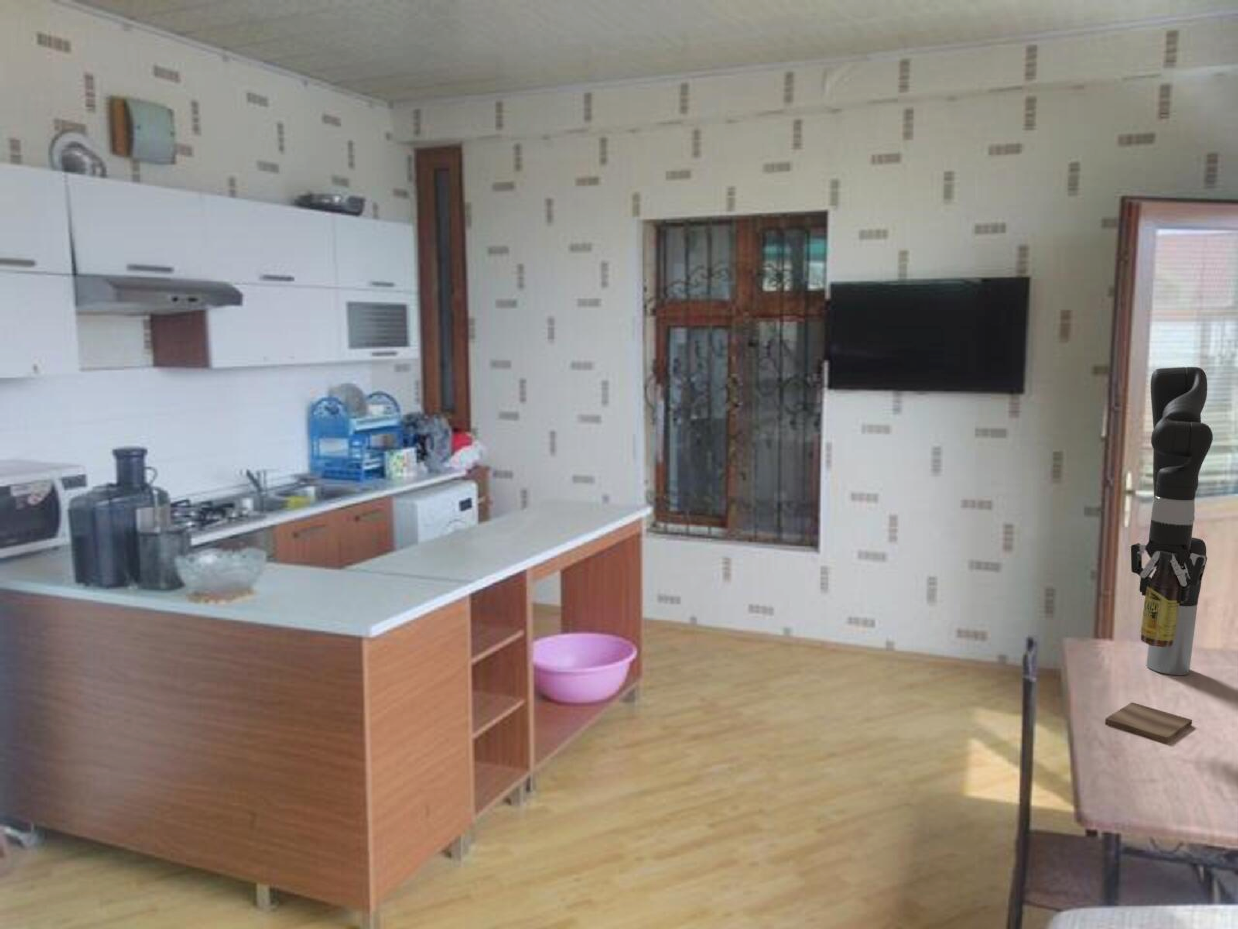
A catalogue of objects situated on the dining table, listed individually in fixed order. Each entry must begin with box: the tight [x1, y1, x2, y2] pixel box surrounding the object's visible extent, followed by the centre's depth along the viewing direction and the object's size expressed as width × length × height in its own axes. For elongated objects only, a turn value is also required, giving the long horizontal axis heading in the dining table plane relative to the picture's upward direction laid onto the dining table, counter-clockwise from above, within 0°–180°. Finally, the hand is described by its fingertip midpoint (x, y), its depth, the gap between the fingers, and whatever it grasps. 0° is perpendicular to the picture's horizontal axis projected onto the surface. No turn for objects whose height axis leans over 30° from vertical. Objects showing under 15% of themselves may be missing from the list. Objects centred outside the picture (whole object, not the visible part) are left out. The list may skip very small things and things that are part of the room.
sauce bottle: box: [1140, 550, 1181, 647], centre depth 201 cm, size 7×6×20 cm
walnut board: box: [1104, 702, 1193, 744], centre depth 205 cm, size 14×12×1 cm
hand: (1162, 598), depth 201 cm, fingers closed on sauce bottle, 6 cm apart
